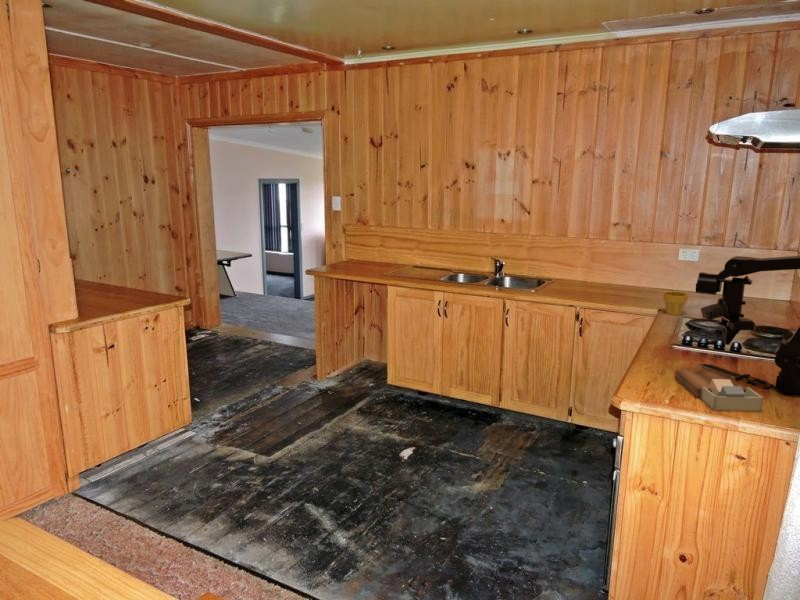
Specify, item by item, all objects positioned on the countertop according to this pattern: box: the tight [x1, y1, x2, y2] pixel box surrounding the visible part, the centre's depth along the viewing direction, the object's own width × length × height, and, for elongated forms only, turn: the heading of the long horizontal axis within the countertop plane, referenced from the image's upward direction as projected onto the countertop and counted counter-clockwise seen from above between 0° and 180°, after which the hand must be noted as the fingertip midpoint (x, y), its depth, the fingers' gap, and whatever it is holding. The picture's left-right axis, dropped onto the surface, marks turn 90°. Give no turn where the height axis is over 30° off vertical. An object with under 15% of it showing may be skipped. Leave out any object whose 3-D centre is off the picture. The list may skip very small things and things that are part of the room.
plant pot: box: [662, 291, 689, 316], centre depth 262 cm, size 10×10×10 cm
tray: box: [700, 386, 764, 412], centre depth 159 cm, size 13×8×4 cm, turn 85°
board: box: [674, 369, 746, 399], centre depth 171 cm, size 14×16×3 cm
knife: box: [699, 362, 776, 390], centre depth 182 cm, size 25×6×1 cm, turn 18°
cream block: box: [709, 379, 733, 396], centre depth 161 cm, size 5×5×3 cm
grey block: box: [719, 385, 745, 397], centre depth 157 cm, size 5×5×3 cm
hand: (726, 344), depth 176 cm, fingers closed
